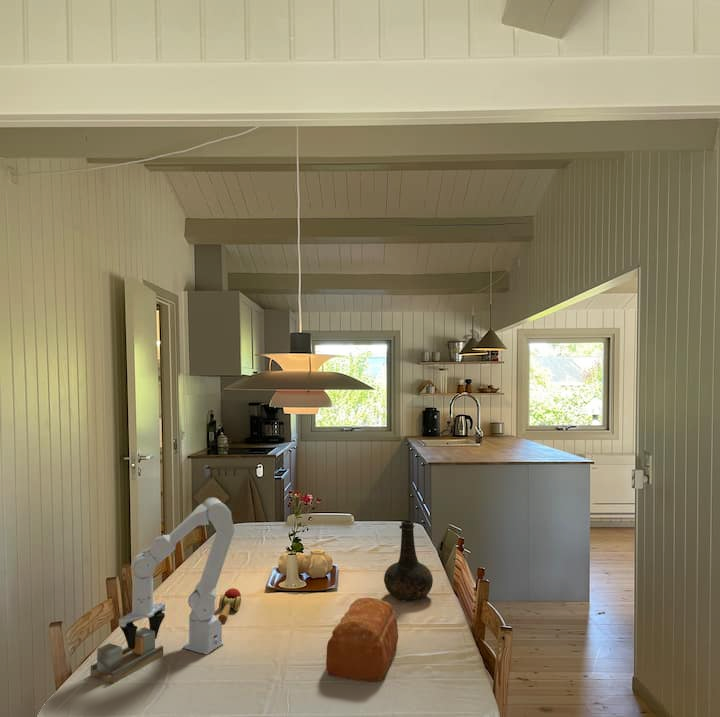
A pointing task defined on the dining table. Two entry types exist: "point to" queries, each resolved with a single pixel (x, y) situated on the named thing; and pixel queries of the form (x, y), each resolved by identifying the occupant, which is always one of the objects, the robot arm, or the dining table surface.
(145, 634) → the block
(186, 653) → the dining table surface
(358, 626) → the bread
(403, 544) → the glass bottle
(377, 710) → the dining table surface
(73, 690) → the dining table surface
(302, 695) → the dining table surface
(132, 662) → the jaw track
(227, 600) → the kendama
